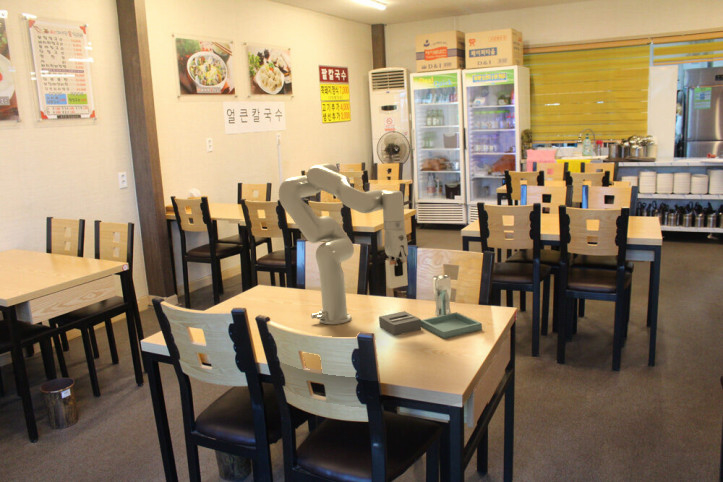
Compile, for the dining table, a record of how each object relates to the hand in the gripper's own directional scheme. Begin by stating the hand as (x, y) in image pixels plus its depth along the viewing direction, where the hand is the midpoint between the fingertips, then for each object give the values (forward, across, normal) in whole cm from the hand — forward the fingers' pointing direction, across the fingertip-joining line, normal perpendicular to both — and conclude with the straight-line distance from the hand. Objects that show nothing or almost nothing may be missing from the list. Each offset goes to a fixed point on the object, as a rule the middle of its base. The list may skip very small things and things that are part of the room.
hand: (396, 274), depth 222 cm
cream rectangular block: (+4, 0, 0) cm, 4 cm away
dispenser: (+21, 0, 0) cm, 21 cm away
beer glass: (+21, +5, -22) cm, 31 cm away
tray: (+20, -11, -15) cm, 28 cm away
